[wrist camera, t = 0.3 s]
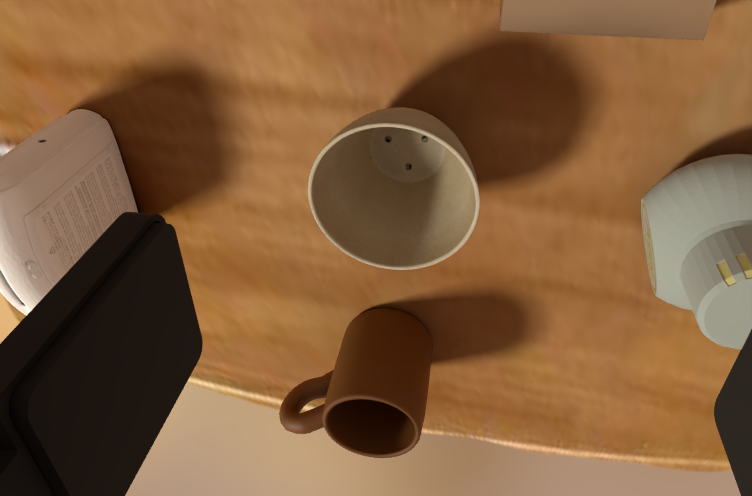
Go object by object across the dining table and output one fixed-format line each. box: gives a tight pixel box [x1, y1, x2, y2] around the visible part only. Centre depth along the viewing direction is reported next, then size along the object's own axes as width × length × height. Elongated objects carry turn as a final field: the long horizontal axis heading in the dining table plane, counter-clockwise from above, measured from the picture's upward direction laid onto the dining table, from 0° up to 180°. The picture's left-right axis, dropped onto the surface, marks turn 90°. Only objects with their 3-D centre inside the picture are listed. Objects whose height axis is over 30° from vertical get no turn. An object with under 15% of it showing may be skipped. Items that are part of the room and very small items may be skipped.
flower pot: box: [308, 107, 480, 270], centre depth 37 cm, size 10×10×7 cm
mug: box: [279, 308, 432, 458], centre depth 48 cm, size 12×8×9 cm, turn 109°
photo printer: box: [0, 109, 138, 316], centre depth 41 cm, size 10×4×12 cm, turn 2°
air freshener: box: [641, 154, 752, 349], centre depth 35 cm, size 11×8×10 cm
